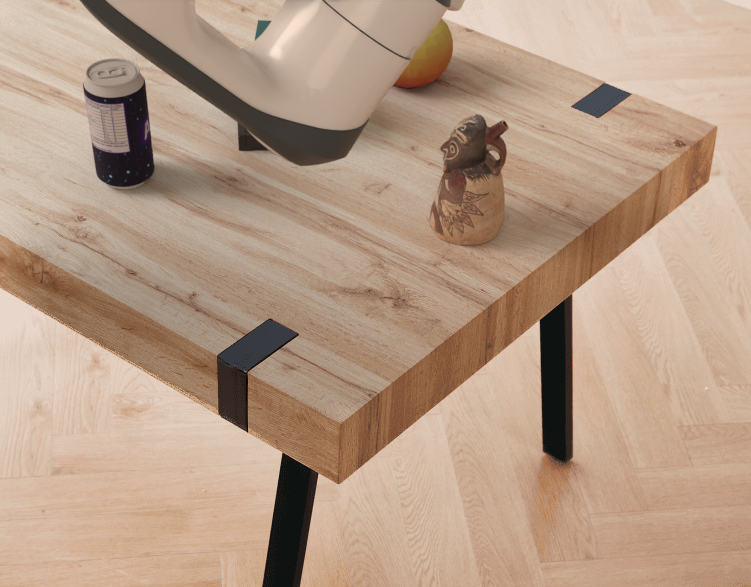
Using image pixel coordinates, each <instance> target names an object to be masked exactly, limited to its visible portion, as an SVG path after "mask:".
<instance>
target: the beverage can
mask: <svg viewBox="0 0 751 587" xmlns="http://www.w3.org/2000/svg"><path fill="white" fill-rule="evenodd" d="M82 83H83V84H82V89H83V95H84V102H85V109H86V115H87V121H88V122H87V123H88V128H89V135H90V141H91V147H92V153H93V160H94V168H95V173H96V177H97V178H98V179H99V180H100V181H101V182H102V183H104V184H105V185H108V186H109V187H111V188H113V189H116V190H121V191H122V190H123V191H125V190H133V189H136V188H139V187H141V186H142V185H143V184H145V183H146V182H147V181H148V180H149V179H150V178H151V177H152V176H153V174H154V173H155V158H154V150H153V141H152V132H151V122H150V114H149V104H148V95H147V85H146V80H145V77H144V76H143V74H142V72H140V67H139V66H138V64H137V63H135V62H134V61H133V60H130V59H125V58H119V57H118V58H117V57H112V58H104V59H100V60H97V61H95V62H93V63H92V64H90V65H89V66H88V67H87V68H86V70H85V78H84V80H83V82H82Z"/></svg>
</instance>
